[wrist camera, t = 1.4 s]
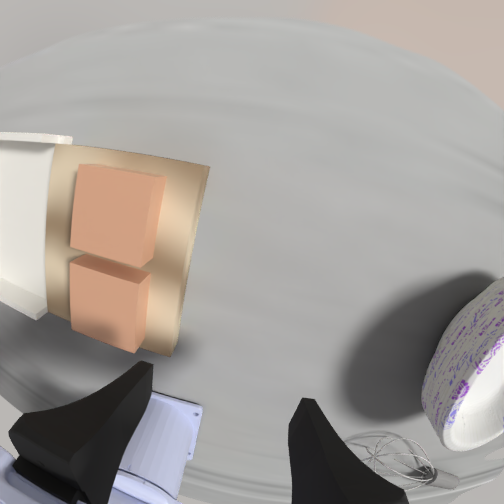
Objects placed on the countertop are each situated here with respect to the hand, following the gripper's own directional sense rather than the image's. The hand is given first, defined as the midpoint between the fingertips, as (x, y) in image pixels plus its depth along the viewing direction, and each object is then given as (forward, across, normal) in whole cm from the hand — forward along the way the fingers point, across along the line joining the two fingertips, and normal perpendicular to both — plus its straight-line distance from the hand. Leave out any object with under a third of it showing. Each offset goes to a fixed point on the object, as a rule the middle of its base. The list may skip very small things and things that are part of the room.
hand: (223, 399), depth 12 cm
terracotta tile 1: (+6, +8, 0) cm, 11 cm away
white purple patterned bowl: (+9, -22, -2) cm, 24 cm away
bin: (+8, +21, -3) cm, 23 cm away
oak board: (+8, +10, -3) cm, 13 cm away
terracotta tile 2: (+6, +8, -6) cm, 12 cm away
